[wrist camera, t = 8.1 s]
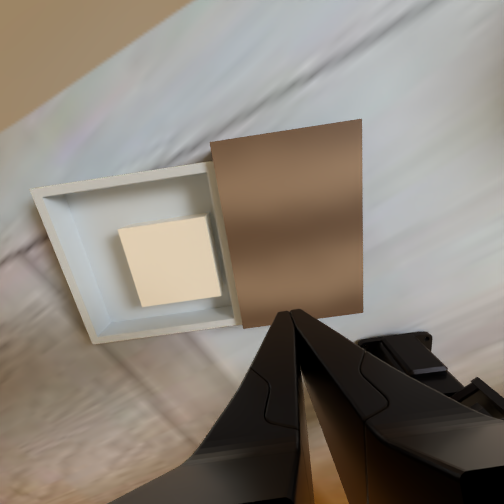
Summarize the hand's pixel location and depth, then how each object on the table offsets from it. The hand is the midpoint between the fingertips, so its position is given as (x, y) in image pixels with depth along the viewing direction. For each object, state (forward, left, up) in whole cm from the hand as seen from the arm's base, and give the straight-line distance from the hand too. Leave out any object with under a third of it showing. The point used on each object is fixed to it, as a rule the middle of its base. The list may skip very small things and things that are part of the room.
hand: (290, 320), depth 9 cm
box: (0, +9, -11) cm, 14 cm away
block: (0, +7, -11) cm, 13 cm away
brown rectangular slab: (+1, -2, -11) cm, 11 cm away
